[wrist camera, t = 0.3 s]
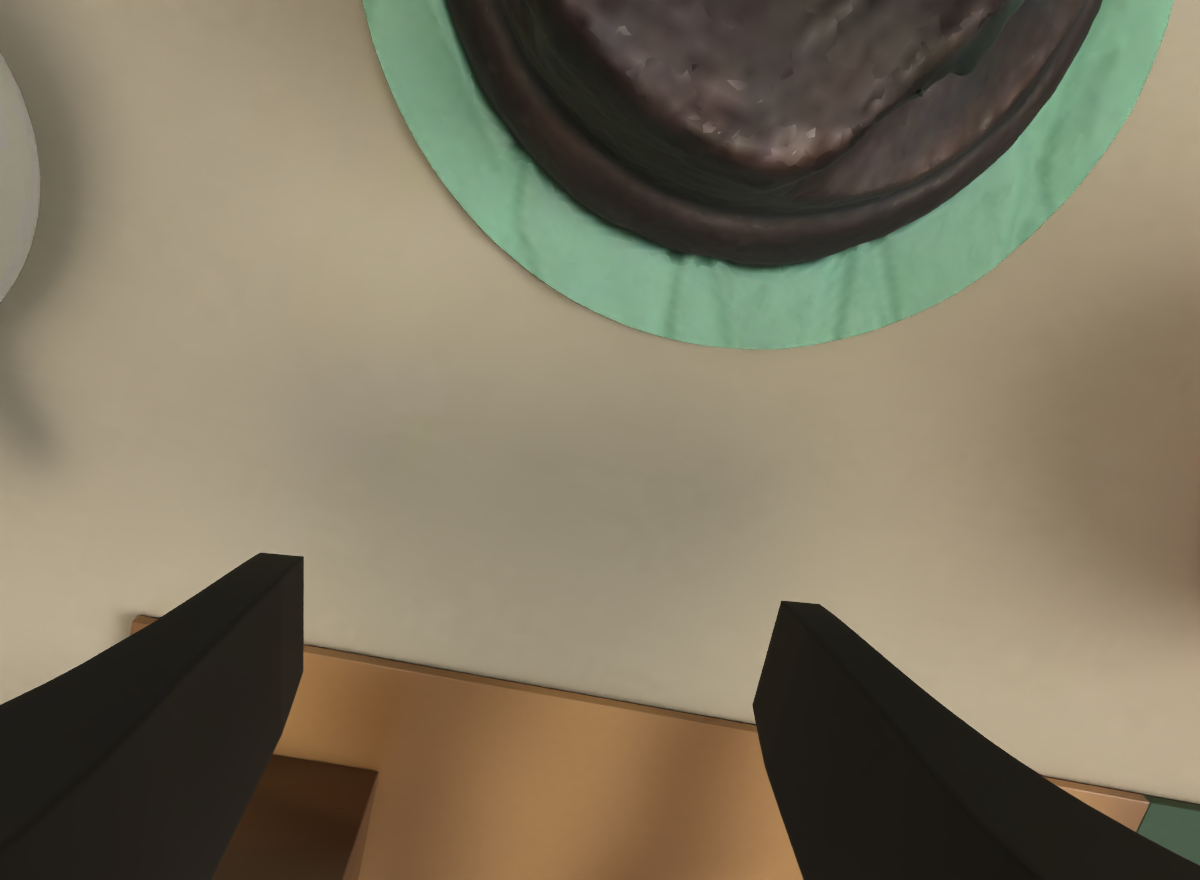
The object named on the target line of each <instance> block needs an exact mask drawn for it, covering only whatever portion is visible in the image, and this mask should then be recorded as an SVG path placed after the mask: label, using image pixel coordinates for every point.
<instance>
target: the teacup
mask: <svg viewBox="0 0 1200 880" xmlns="http://www.w3.org/2000/svg"><path fill="white" fill-rule="evenodd" d="M39 202H40V169H39V161H38V154H37V146H36V141H35V136H34V132H33V127H32V124H31V121H30V118H29V115H28V112H27V109H26V106H25V103H24V100H23V97H22V94H21V92H20V90H19V88H18V86H17V84H16V82H15V80H14V78H13V76H12V74H11V72H10V70H9V68H8V66H7V64H6V62H5V60H4V58H3V56H2V54H1V53H0V302H1V301H2V300H3V298H4V297H5V295H6V294H7V292H8V291H9V290H10V288H11V287H12V285H13V284H14V282H15V281H16V280H17V278H18V276H19V274H20V272H21V270H22V268H23V266H24V264H25V261H26V258H27V256H28V253H29V250H30V248H31V245H32V242H33V237H34V233H35V228H36V224H37V219H38V212H39Z"/></svg>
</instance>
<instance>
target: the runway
mask: <svg viewBox="0 0 1200 880" xmlns="http://www.w3.org/2000/svg"><path fill="white" fill-rule="evenodd" d="M156 620H158V619H156V618H151V617H145V616H138V617H137V618H135V619H134V620H133V621H132V626H131V635H132V634H134V633H136V632H138V631H139V630H141V629H143V628H144V627H146V626H148V625H150V624H151V623H153V622H154V621H156ZM273 754H274V755H280V756H286V757H293V758H299V759H305V760H311V761H317V762H323V763H330V764H336V765H342V766H348V767H354V768H360V769H367V770H373V771H378V779H377V785H376V790H375V795H374V800H373V805H372V810H371V815H370V821H369V826H368V831H367V836H366V841H365V846H364V851H363V856H362V862H361V867H360V872H359V877H358V880H803V877H802V874H801V871H800V869H799V866H798V863H797V860H796V857H795V854H794V851H793V848H792V846H791V843H790V840H789V837H788V834H787V831H786V828H785V825H784V823H783V820H782V817H781V814H780V811H779V808H778V805H777V802H776V799H775V796H774V793H773V790H772V787H771V784H770V781H769V778H768V775H767V772H766V769H765V765H764V761H763V756H762V751H761V747H760V742H759V737H758V732H757V727H756V725H750V724H744V723H739V722H733V721H727V720H722V719H716V718H711V717H705V716H699V715H694V714H688V713H683V712H677V711H671V710H666V709H660V708H655V707H649V706H643V705H638V704H632V703H627V702H621V701H615V700H610V699H604V698H599V697H593V696H587V695H582V694H576V693H571V692H565V691H559V690H554V689H548V688H543V687H537V686H531V685H526V684H520V683H515V682H509V681H503V680H498V679H492V678H487V677H481V676H475V675H470V674H464V673H459V672H453V671H447V670H442V669H436V668H431V667H425V666H419V665H414V664H408V663H403V662H397V661H391V660H386V659H380V658H375V657H369V656H363V655H358V654H352V653H347V652H341V651H335V650H330V649H324V648H319V647H313V646H307V645H303V674H302V677H301V680H300V683H299V686H298V689H297V692H296V695H295V698H294V701H293V704H292V707H291V710H290V713H289V716H288V719H287V721H286V724H285V727H284V730H283V733H282V735H281V737H280V739H279V742H278V744H277V746H276V748H275V750H274V752H273ZM1044 778H1046V779H1047V780H1049V781H1050V782H1052V783H1053V784H1055V785H1056V786H1058V787H1060V788H1061V789H1063V790H1064V791H1066V792H1068V793H1069V794H1071V795H1073V796H1074V797H1076V798H1078V799H1079V800H1081V801H1083V802H1084V803H1086V804H1088V805H1089V806H1091V807H1093V808H1095V809H1096V810H1098V811H1100V812H1102V813H1103V814H1105V815H1107V816H1109V817H1110V818H1112V819H1114V820H1116V821H1117V822H1119V823H1121V824H1123V825H1124V826H1126V827H1128V828H1130V829H1131V830H1133V831H1135V832H1136V831H1137V829H1138V827H1139V825H1140V823H1141V820H1142V818H1143V816H1144V814H1145V812H1146V810H1147V808H1148V806H1149V804H1150V802H1149V801H1148V800H1147V799H1146V798H1145V797H1144V796H1143V795H1141V794H1136V793H1131V792H1125V791H1120V790H1114V789H1108V788H1103V787H1097V786H1092V785H1086V784H1080V783H1075V782H1069V781H1064V780H1058V779H1052V778H1047V777H1044Z"/></svg>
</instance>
